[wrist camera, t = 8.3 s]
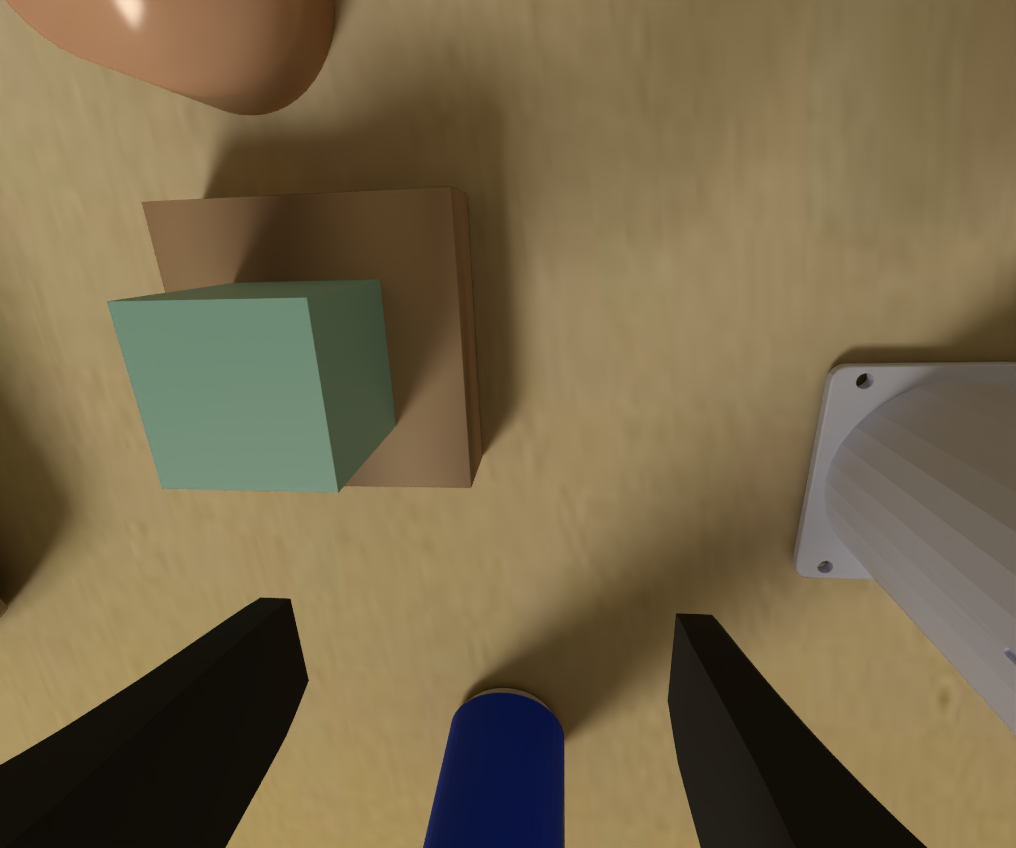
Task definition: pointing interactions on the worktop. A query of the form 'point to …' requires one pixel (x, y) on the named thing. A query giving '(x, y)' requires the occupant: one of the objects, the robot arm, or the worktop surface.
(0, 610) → the plant pot
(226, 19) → the rounded knob
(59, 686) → the worktop surface
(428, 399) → the base
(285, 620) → the robot arm
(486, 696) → the beverage can
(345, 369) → the cube
